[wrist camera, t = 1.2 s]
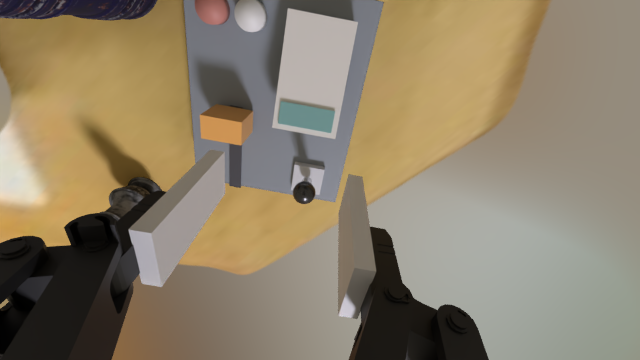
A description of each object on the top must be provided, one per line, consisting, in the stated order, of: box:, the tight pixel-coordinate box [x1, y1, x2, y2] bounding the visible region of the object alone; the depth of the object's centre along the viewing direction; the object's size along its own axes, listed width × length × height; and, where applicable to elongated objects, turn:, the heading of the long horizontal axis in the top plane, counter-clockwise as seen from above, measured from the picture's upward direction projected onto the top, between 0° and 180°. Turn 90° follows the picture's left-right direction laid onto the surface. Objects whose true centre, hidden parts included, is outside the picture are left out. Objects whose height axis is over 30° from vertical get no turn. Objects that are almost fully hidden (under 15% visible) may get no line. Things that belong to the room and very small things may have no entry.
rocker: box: [272, 8, 358, 139], centre depth 25 cm, size 10×6×2 cm, turn 170°
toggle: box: [293, 177, 316, 204], centre depth 29 cm, size 2×2×7 cm
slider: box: [200, 104, 253, 145], centre depth 28 cm, size 2×4×4 cm, turn 80°
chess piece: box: [100, 177, 162, 222], centre depth 36 cm, size 6×6×12 cm
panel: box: [184, 0, 384, 202], centre depth 30 cm, size 22×18×6 cm
